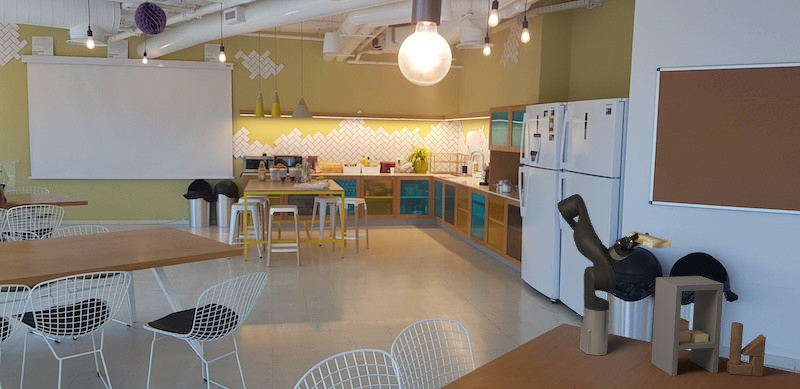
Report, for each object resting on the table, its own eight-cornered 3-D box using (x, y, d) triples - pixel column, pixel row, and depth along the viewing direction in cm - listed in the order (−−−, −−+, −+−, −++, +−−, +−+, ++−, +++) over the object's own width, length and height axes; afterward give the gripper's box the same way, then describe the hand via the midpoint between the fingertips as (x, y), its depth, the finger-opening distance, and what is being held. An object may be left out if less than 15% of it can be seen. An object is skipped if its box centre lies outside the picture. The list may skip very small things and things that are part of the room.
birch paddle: (651, 248, 227) (652, 240, 227) (623, 239, 247) (623, 232, 246) (671, 248, 228) (671, 240, 228) (641, 238, 248) (641, 231, 248)
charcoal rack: (671, 375, 208) (676, 285, 205) (651, 362, 219) (656, 277, 216) (717, 372, 211) (723, 283, 208) (695, 360, 223) (700, 275, 219)
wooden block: (763, 376, 208) (766, 326, 206) (730, 374, 209) (733, 324, 208) (758, 372, 212) (762, 323, 210) (726, 370, 213) (729, 321, 211)
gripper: (604, 241, 255) (624, 226, 240) (635, 240, 258) (656, 226, 243) (608, 257, 252) (629, 244, 237) (639, 257, 255) (661, 243, 240)
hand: (642, 235), depth 240 cm, fingers closed on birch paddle, 4 cm apart
